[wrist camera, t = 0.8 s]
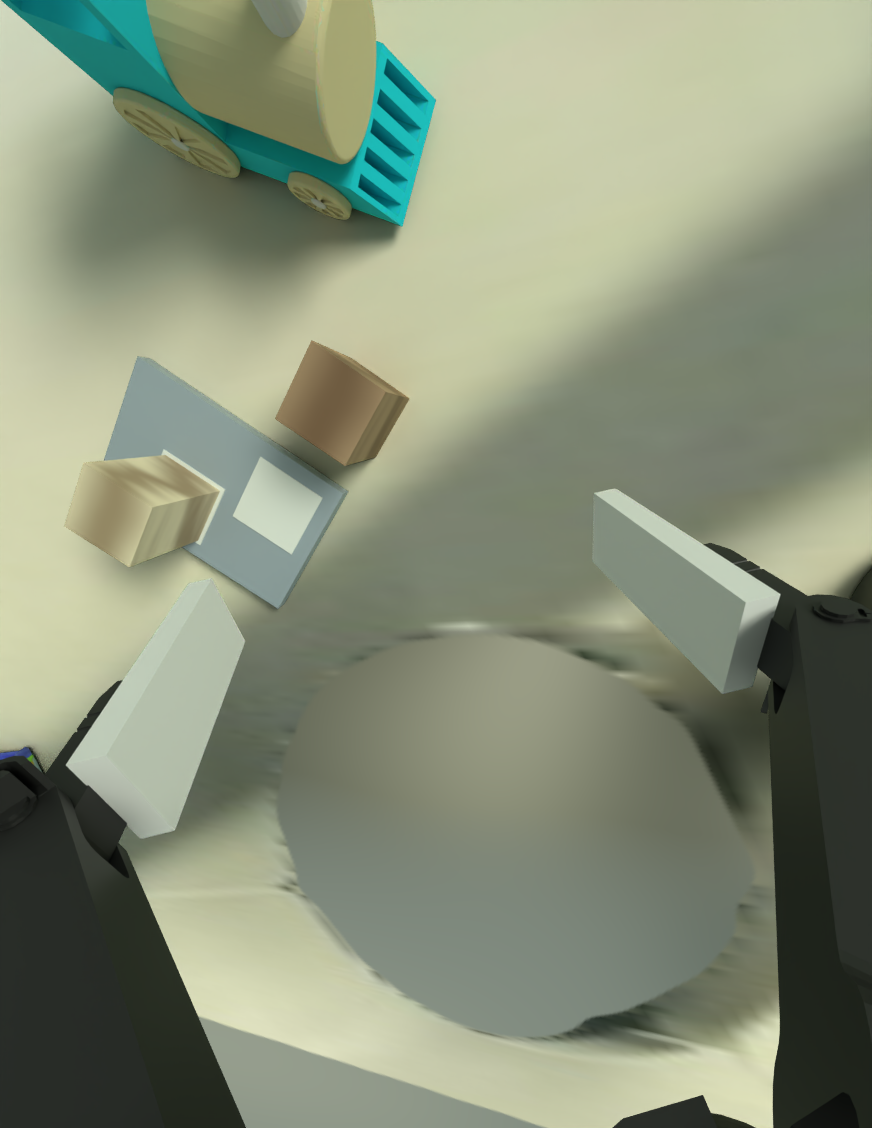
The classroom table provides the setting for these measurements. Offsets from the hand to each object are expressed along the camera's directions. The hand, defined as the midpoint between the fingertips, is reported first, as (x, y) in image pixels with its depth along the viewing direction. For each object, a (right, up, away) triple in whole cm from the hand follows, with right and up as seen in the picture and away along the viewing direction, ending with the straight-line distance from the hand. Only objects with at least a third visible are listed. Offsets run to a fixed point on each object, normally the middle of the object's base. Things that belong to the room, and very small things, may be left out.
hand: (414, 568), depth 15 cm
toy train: (-8, +28, +12) cm, 31 cm away
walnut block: (-5, +12, +17) cm, 21 cm away
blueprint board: (-17, +6, +20) cm, 27 cm away
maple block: (-20, +5, +20) cm, 28 cm away
